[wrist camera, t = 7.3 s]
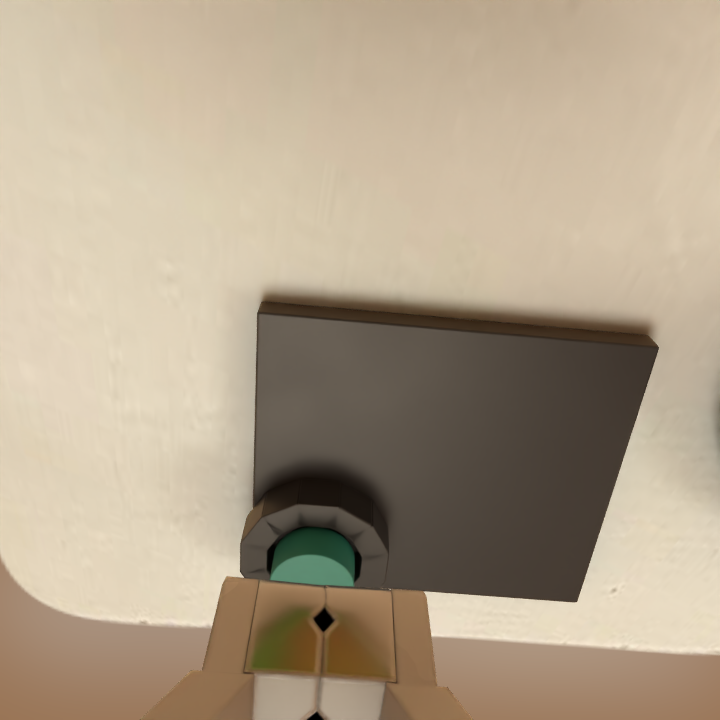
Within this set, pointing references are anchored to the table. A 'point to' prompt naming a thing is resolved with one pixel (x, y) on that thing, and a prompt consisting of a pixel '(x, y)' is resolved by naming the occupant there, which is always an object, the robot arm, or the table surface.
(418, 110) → the table surface
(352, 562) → the button
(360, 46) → the table surface
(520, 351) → the scale
